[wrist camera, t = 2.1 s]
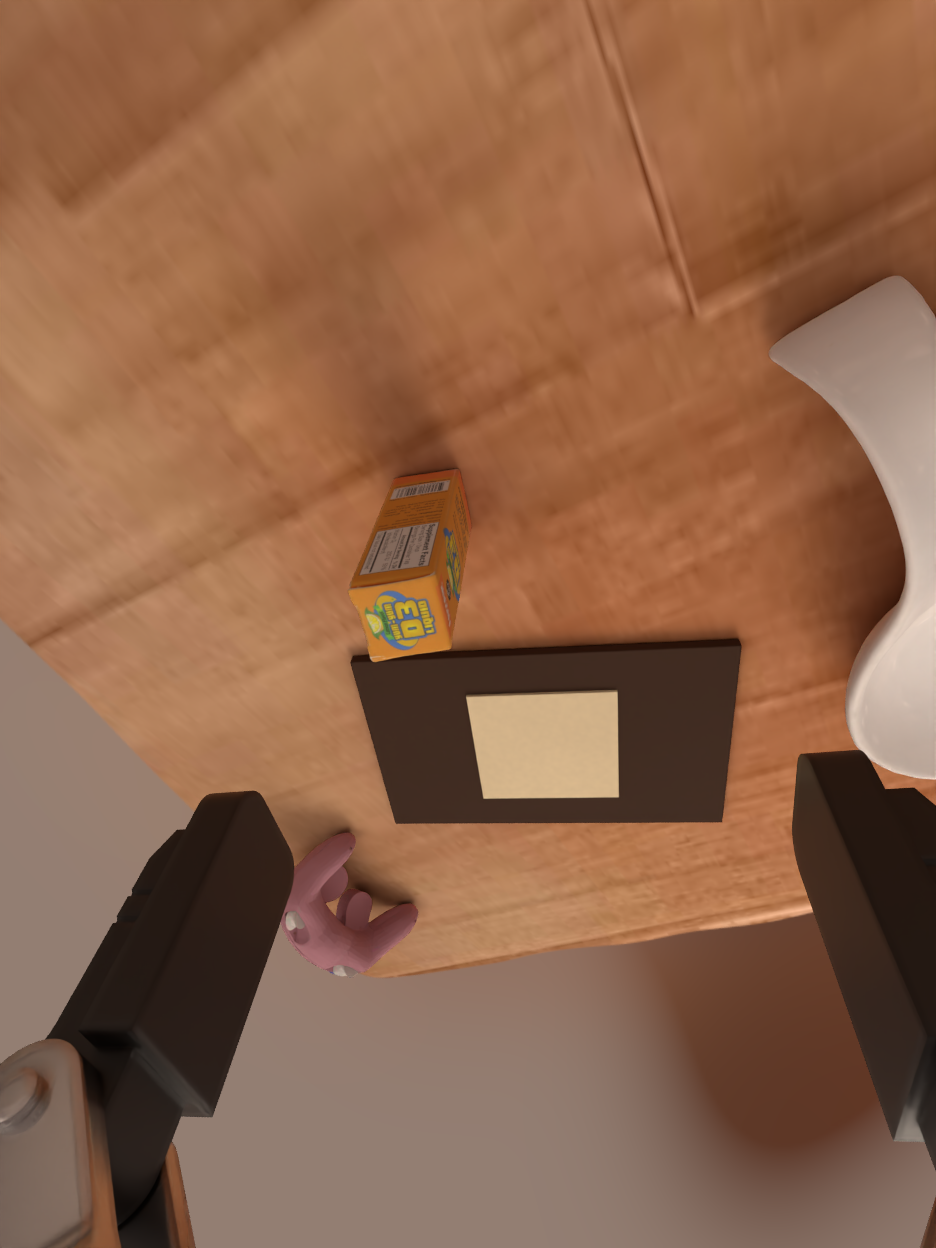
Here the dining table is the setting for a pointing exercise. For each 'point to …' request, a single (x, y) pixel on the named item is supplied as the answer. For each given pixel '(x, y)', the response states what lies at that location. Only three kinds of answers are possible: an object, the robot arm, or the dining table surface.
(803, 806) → the robot arm
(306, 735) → the dining table surface
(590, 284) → the dining table surface
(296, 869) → the video game controller
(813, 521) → the dining table surface
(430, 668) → the desk pad
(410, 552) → the supplement box
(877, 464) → the spoon rest
